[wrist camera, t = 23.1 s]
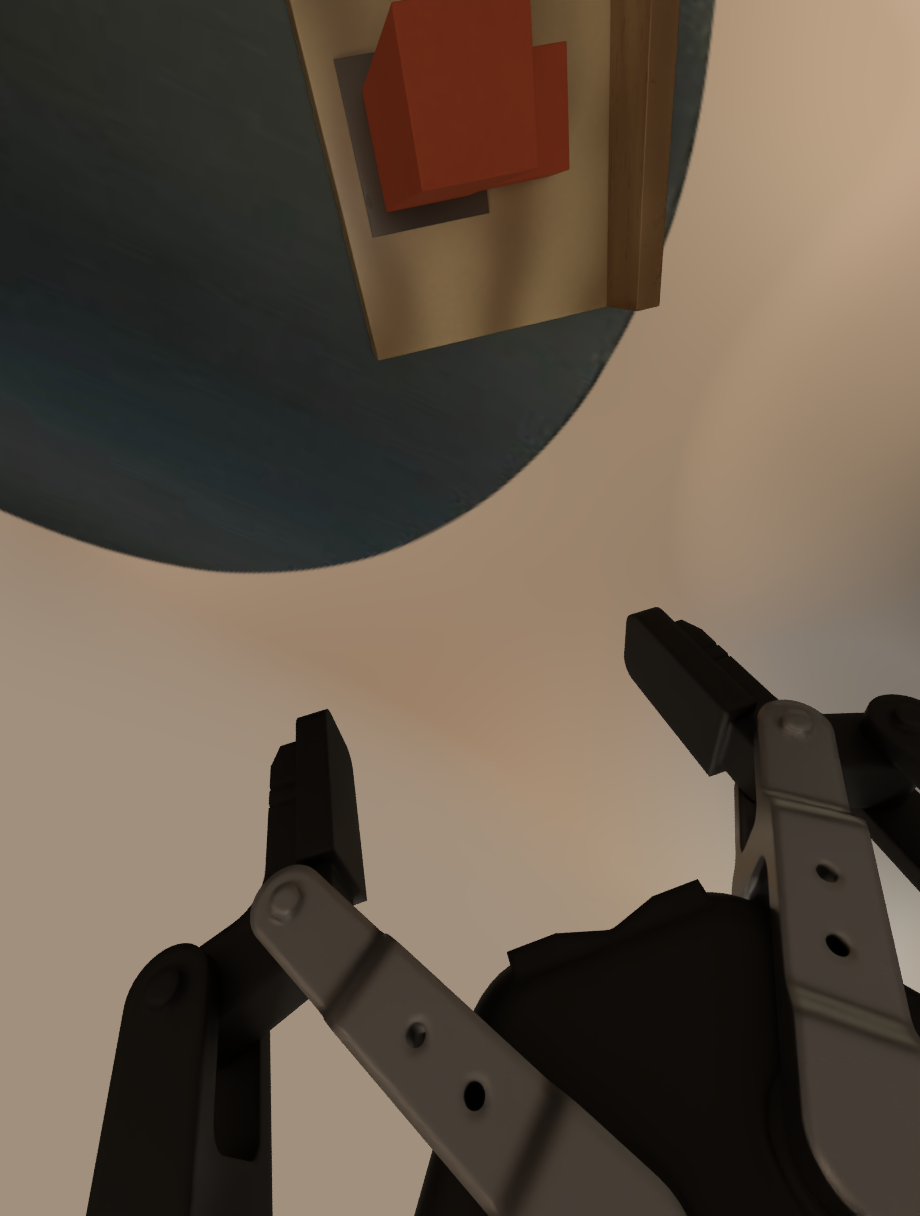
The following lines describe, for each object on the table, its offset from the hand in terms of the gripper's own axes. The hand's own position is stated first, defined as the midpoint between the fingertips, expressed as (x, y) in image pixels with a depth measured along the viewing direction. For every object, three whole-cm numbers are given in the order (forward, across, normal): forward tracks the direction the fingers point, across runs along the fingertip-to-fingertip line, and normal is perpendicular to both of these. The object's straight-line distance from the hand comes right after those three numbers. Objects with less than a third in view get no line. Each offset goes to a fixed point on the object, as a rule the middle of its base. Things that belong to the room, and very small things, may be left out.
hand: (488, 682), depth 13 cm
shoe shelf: (+31, +10, +13) cm, 35 cm away
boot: (+27, +9, +13) cm, 32 cm away
